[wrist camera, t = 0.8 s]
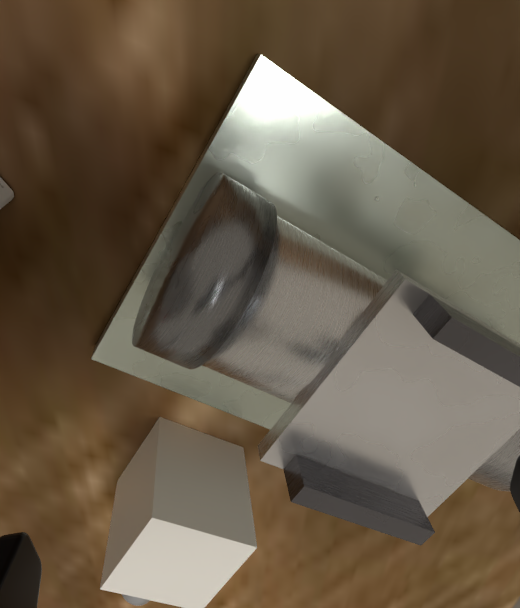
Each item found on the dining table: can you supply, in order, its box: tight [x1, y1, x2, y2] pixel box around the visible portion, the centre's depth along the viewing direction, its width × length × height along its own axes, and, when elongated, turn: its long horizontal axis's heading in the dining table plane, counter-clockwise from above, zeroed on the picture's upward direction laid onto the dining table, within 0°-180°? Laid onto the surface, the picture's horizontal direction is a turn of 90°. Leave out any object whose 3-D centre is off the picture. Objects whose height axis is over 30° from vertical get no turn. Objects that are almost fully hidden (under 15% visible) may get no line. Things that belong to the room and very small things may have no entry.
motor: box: [91, 54, 520, 545], centre depth 19 cm, size 20×14×8 cm
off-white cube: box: [100, 417, 257, 608], centre depth 24 cm, size 5×7×6 cm
